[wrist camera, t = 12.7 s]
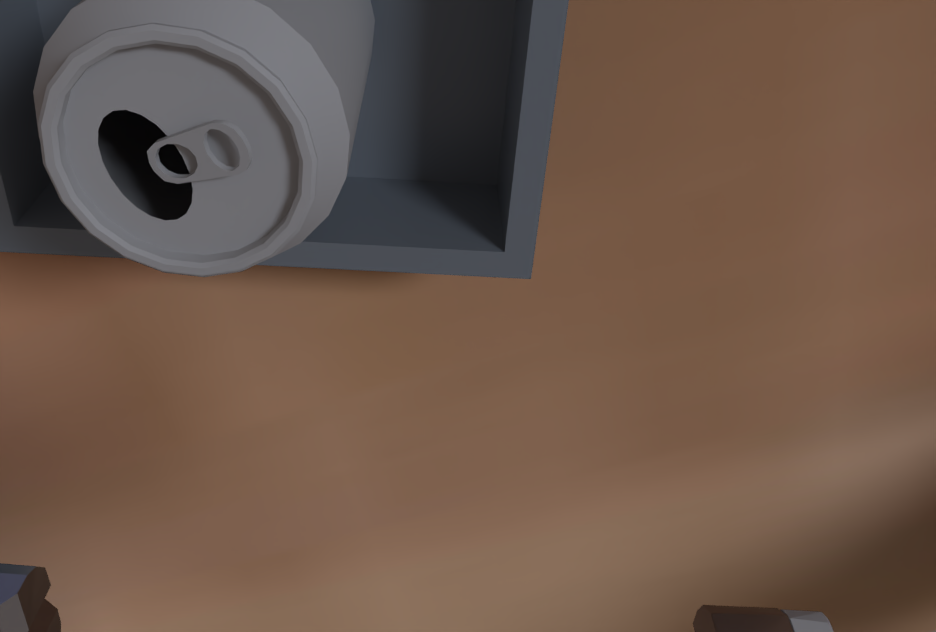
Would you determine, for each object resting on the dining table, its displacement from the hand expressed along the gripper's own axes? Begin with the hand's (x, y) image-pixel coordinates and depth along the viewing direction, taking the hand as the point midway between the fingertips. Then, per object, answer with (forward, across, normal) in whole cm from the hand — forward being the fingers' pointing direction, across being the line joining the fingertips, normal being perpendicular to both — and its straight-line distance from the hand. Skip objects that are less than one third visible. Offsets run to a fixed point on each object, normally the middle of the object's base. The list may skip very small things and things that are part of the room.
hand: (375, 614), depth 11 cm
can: (+23, -6, +1) cm, 24 cm away
